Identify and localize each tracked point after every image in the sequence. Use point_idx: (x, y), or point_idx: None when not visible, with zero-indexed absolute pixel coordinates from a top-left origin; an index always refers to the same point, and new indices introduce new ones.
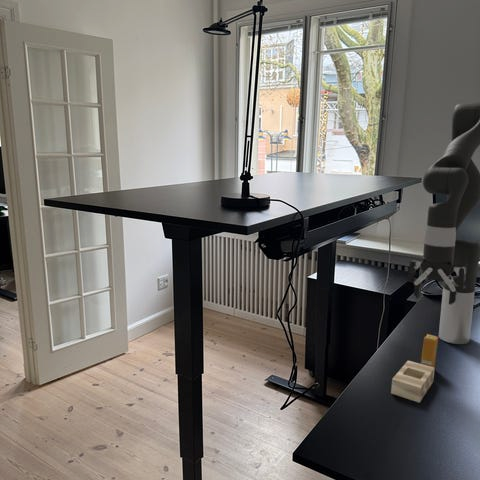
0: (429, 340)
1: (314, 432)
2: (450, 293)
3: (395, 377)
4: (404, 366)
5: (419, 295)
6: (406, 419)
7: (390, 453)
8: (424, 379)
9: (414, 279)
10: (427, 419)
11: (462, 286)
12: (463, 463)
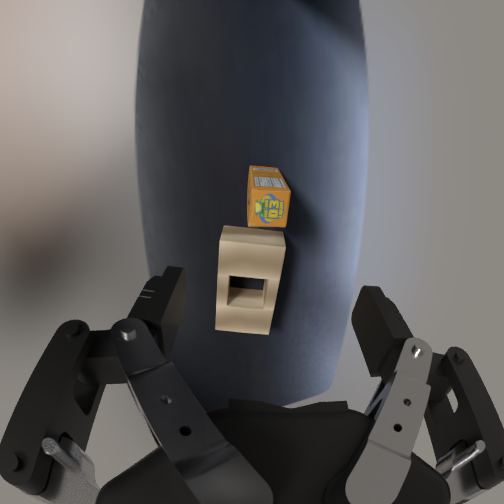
0: (265, 226)
1: None
2: (371, 366)
3: (218, 322)
4: (221, 273)
5: (182, 295)
6: (257, 354)
7: (253, 398)
8: (270, 307)
9: (113, 382)
10: (283, 344)
11: (438, 404)
12: (321, 384)
